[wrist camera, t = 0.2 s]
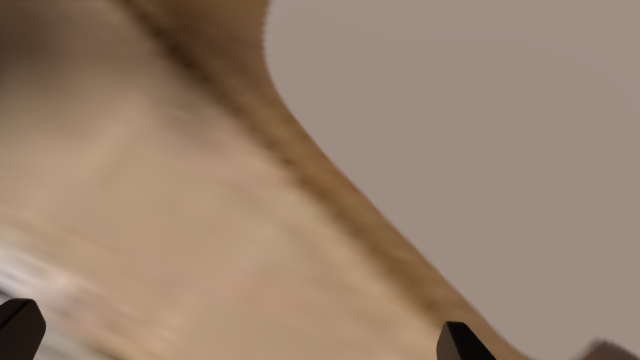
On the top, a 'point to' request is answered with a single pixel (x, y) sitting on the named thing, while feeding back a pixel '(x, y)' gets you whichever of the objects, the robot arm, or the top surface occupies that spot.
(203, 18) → the top surface
